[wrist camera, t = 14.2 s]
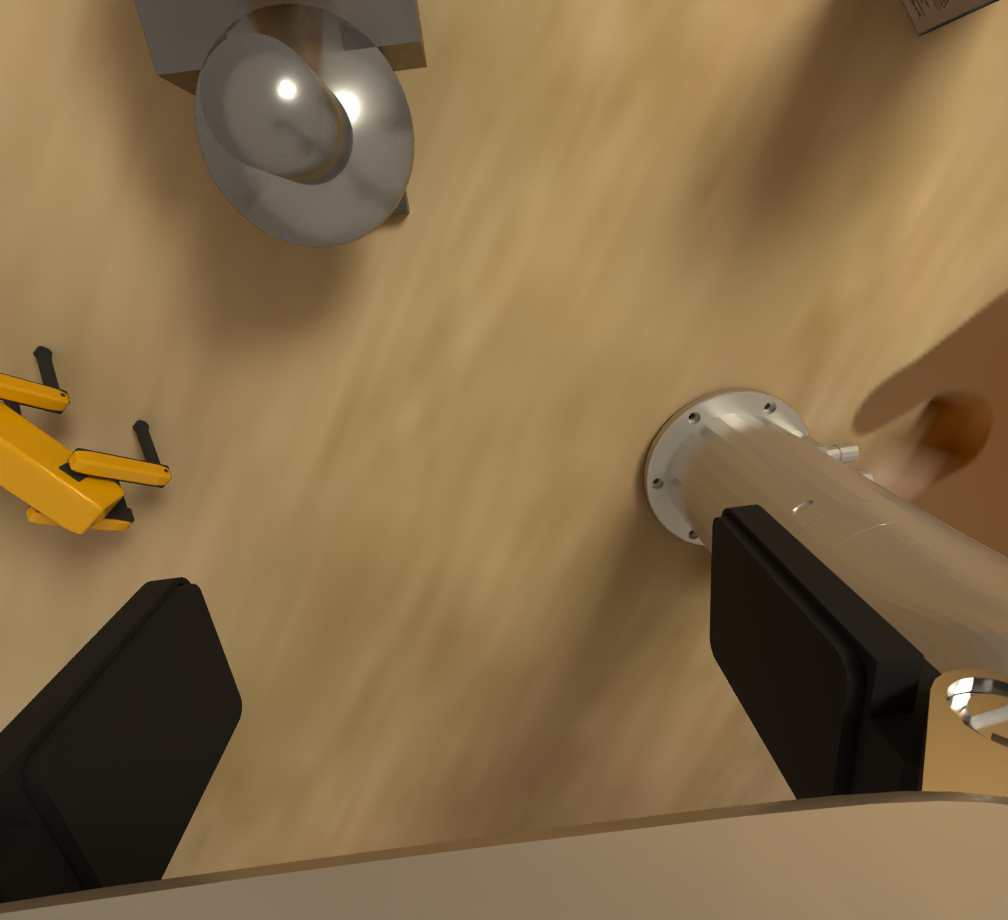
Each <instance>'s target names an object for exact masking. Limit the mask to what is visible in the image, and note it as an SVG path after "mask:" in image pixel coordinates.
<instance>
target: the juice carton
mask: <svg viewBox="0 0 1008 920" xmlns="http://www.w3.org/2000/svg"><path fill="white" fill-rule="evenodd" d="M996 1H999V0H902V2H903V4H904V6H905V8H906V10H907V12H908V14H909V16H910V18H911V20H912V22H913V24H914V26H915V28H916V30H917V32H918V34H919V36H921V35H924V34H926V33H929V32H931V31H933V30H935V29H937V28H940V27H942V26H944V25H946V24H948V23H950V22H953V21H955V20H957V19H959V18H961V17H964V16H966V15H968V14H970V13H972V12H975V11H977V10H979V9H981V8H983V7H985V6H988V5H990V4H992V3H994V2H996Z"/></svg>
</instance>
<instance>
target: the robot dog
mask: <svg viewBox="0 0 1008 920" xmlns="http://www.w3.org/2000/svg"><path fill="white" fill-rule="evenodd" d="M33 354H34V356H35V357H36V358H37V361H38V365H39V369H40V373H41V376H42V380H43V384H44V385H43V384H39V383H35V382H32V381H28V380H25V379H21V378H17V377H14V376H10V375H6V374H3V373H0V400H3V401H4V403H5V404H4V403H2V402H1V401H0V486H1V487H3V488H4V489H6V490H8V491H9V492H11V493H12V494H14V495H15V496H17V497H18V498H20V499H21V500H23V501H24V502H26V503H27V504H29V505H30V506H29V507H28V510H27V511H26V514H27V519H28V521H30V522H32V523H36V524H41V525H50V526H62V527H64V528H66V529H67V530H69V531H71V532H74V533H77V534H83V533H85V532H86V531H87V530H89V529H96V530H107V531H122V530H126V529H127V528H128V527H129V526H130V524H131V523H132V522H133V521H134V517H133V514H132V511H131V509H130V508H127V506H126V502H125V499H124V495H125V492H124V491H123V489H122V488H121V486H120V483H119V481H123V482H129V483H135V484H141V485H148V486H154V487H160V488H163V487H164V486H165V485H166V484H167V483H168V482H169V480H170V479H171V478H172V476H171V473H170V470H169V467H168V466H166V465H162V464H160V461H159V458H158V456H157V453H156V450H155V447H154V444H153V442H152V439H151V436H150V433H149V431H148V428H149V425H148V424H147V423H146V422H144V421H141V420H138V421H137V422H136V423H135V424H134V425H133V430H134V431H136V433H137V436H138V439H139V442H140V445H141V448H142V451H143V453H144V456H145V459H146V461H141V460H136V459H131V458H126V457H121V456H116V455H111V454H106V453H101V452H96V451H91V450H86V449H81V448H77V449H76V450H75V451H74V452H72V451H70V450H69V449H68V448H66V447H65V446H63V445H62V444H60V443H59V442H58V441H56V440H55V439H53V438H52V437H51V436H49V435H48V434H46V433H45V432H43V431H42V430H41V429H39V428H38V427H36V426H35V425H33V424H32V423H31V422H29V421H28V420H26V419H25V418H24V417H22V416H21V412H20V407H19V404H20V405H25V406H29V407H33V408H37V409H41V410H45V411H50V412H54V413H58V414H61V413H62V412H63V411H64V410H65V408H66V407H67V406H68V404H69V403H70V401H69V397H68V394H67V391H64V390H61V389H59V386H58V382H57V378H56V375H55V371H54V367H53V364H52V360H51V355H52V352H51V351H50V350H49V349H47V348H45V347H42V346H39V347H37V349H36V350H35V351H34V353H33Z"/></svg>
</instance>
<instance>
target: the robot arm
mask: <svg viewBox="0 0 1008 920" xmlns="http://www.w3.org/2000/svg"><path fill="white" fill-rule="evenodd" d="M766 404H767V406H766V407H765V405H766ZM691 413H693V416H692V417H690V418H689V416H690V414H691ZM858 457H859V450H858V447H857V445H856V444H854V443H844V444H837V445H833V446H829V447H826V446H825V445H823V444H821V443H819V442H818V441H816V440H814V439H812V438H811V437H810V435H809V431H808V429H807V427H806V426H805V424H804V422H803V420H802V419H801V417H800V416H799V415H798V414H797V413H796V412H795V411H794V410H793V409H792V408H791V407H790V406H788V405H787V404H785V403H784V402H782V401H781V400H779V399H777V398H775V397H773V396H771V395H769V394H767V393H763V392H759V391H756V390H752V389H729V390H721V391H717V392H714V393H711V394H708V395H705V396H702V397H700V398H698V399H696V400H695V401H693V402H691V403H689V404H687V405H686V406H685V407H683V408H682V409H681V410H679V411H678V412H677V413H675V414H674V415H673V416H672V417H671V418H670V419H669V421H668V422H667V423H666V424H665V425H664V426H663V427H662V429H661V430H660V432H659V433H658V435H657V436H656V438H655V439H654V441H653V443H652V445H651V448H650V450H649V452H648V455H647V459H646V464H645V468H644V487H645V492H646V497H647V500H648V502H649V504H650V507H651V509H652V511H653V512H654V514H655V515H656V517H657V518H658V520H659V521H660V522H661V523H662V524H663V525H664V527H665V528H666V529H667V530H668V531H670V532H671V533H673V534H674V535H675V536H677V537H678V538H680V539H682V540H685V541H687V542H689V543H692V544H697V545H702V546H705V547H706V548H707V549H708V550H709V552H710V553H711V554H712V562H711V604H710V644H711V649H712V652H713V655H714V657H715V660H716V661H717V663H718V665H719V666H720V668H721V670H722V672H723V673H724V675H725V677H726V679H727V680H728V682H729V684H730V685H731V687H732V689H733V691H734V692H735V694H736V696H737V697H738V699H739V701H740V703H741V704H742V706H743V708H744V709H745V711H746V713H747V715H748V716H749V718H750V720H751V721H752V723H753V725H754V727H755V728H756V730H757V732H758V734H759V735H760V737H761V739H762V740H763V742H764V744H765V746H766V747H767V749H768V751H769V752H770V754H771V756H772V758H773V759H774V761H775V763H776V764H777V766H778V768H779V770H780V771H781V773H782V775H783V776H784V778H785V780H786V782H787V783H788V785H789V787H790V788H791V790H792V792H793V794H794V795H795V797H796V799H797V800H788V801H778V802H769V803H759V804H750V805H740V806H731V807H722V808H712V809H704V810H696V811H688V812H680V813H672V814H664V815H656V816H648V817H640V818H631V819H623V820H615V821H607V822H599V823H591V824H583V825H575V826H567V827H559V828H551V829H543V830H534V831H526V832H519V833H511V834H503V835H495V836H487V837H480V838H472V839H464V840H456V841H449V842H441V843H433V844H425V845H418V846H410V847H402V848H395V849H387V850H379V851H372V852H364V853H356V854H349V855H341V856H333V857H326V858H318V859H311V860H303V861H295V862H288V863H280V864H273V865H266V866H258V867H251V868H244V869H236V870H229V871H222V872H214V873H207V874H200V875H192V876H185V877H178V878H170V879H163V880H161V878H162V876H163V874H164V872H165V870H166V868H167V866H168V864H169V862H170V860H171V858H172V856H173V854H174V852H175V850H176V848H177V846H178V844H179V842H180V840H181V838H182V836H183V834H184V832H185V830H186V828H187V826H188V824H189V822H190V820H191V818H192V815H193V813H194V811H195V809H196V807H197V805H198V803H199V801H200V799H201V797H202V795H203V793H204V791H205V789H206V787H207V785H208V783H209V781H210V779H211V777H212V775H213V773H214V771H215V769H216V767H217V765H218V763H219V761H220V759H221V757H222V755H223V753H224V750H225V748H226V746H227V744H228V742H229V740H230V738H231V736H232V734H233V732H234V730H235V728H236V726H237V724H238V722H239V720H240V717H241V712H242V701H241V697H240V694H239V691H238V689H237V686H236V683H235V681H234V678H233V675H232V672H231V670H230V667H229V664H228V662H227V659H226V656H225V654H224V651H223V648H222V646H221V643H220V640H219V637H218V635H217V632H216V629H215V627H214V624H213V621H212V619H211V616H210V613H209V611H208V608H207V605H206V603H205V600H204V597H203V594H202V592H201V590H200V588H199V587H198V586H197V585H196V584H191V583H190V582H189V581H188V580H187V579H186V578H183V577H180V578H172V579H164V580H156V581H150V582H147V583H146V584H144V585H143V586H142V587H141V588H140V589H139V590H138V591H137V592H136V593H135V594H134V595H133V596H132V597H131V598H130V600H129V601H128V602H127V603H126V604H125V605H124V606H123V607H122V608H121V609H120V610H119V611H118V612H117V613H116V614H115V615H114V616H113V617H112V618H111V619H110V620H109V621H108V622H107V623H106V624H105V625H104V626H103V627H102V628H101V629H100V630H99V632H98V633H97V634H96V635H95V636H94V637H93V638H92V639H91V640H90V641H89V642H88V643H87V644H86V645H85V646H84V647H83V648H82V649H81V650H80V651H79V652H78V653H77V654H76V655H75V656H74V657H73V658H72V659H71V660H70V661H69V662H68V664H67V665H66V666H65V667H64V668H63V669H62V670H61V671H60V672H59V673H58V674H57V675H56V676H55V677H54V678H53V679H52V680H51V681H50V682H49V683H48V684H47V685H46V686H45V687H44V688H43V689H42V690H41V691H40V692H39V693H38V694H37V695H36V697H35V698H34V699H33V700H32V701H31V702H30V703H29V704H28V705H27V706H26V707H25V708H24V709H23V710H22V711H21V712H20V713H19V714H18V715H17V716H16V717H15V718H14V719H13V720H12V721H11V722H10V723H9V724H8V725H7V726H6V727H5V729H4V730H3V731H2V732H1V733H0V920H1008V558H1006V557H1004V556H1003V555H1000V554H999V553H997V552H995V551H993V550H992V549H990V548H988V547H986V546H984V545H982V544H981V543H979V542H977V541H975V540H973V539H971V538H969V537H968V536H966V535H964V534H962V533H960V532H958V531H957V530H955V529H953V528H951V527H950V526H948V525H946V524H945V523H943V522H941V521H939V520H938V519H936V518H934V517H933V516H931V515H929V514H928V513H926V512H924V511H922V510H921V509H919V508H917V507H916V506H914V505H912V504H911V503H909V502H907V501H906V500H904V499H902V498H900V497H899V496H897V495H895V494H894V493H892V492H890V491H889V490H887V489H885V488H884V487H882V486H880V485H879V484H877V483H875V482H874V479H873V477H872V475H871V473H870V472H869V471H868V470H866V469H857V470H853V469H852V468H850V467H848V466H847V465H845V464H843V463H847V462H854V461H856V460H858ZM655 479H657V480H656V481H654V480H655ZM653 481H654V482H653Z"/></svg>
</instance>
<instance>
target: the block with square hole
mask: <svg viewBox="0 0 1008 920" xmlns="http://www.w3.org/2000/svg"><path fill="white" fill-rule="evenodd" d="M135 3H136V7H137V10H138V13H139V17H140V20H141V23H142V27H143V30H144V34H145V37H146V40H147V44H148V47H149V50H150V54H151V57H152V60H153V64H154V67H155V71H156V74H157V75H158V76H160V77H161V78H163V79H165V80H167V81H169V82H171V83H173V84H175V85H176V86H178V87H180V88H182V89H184V90H186V91H188V92H190V93H191V94H193V95H195V120H196V130H197V135H198V139H199V144H200V148H201V151H202V154H203V157H204V160H205V162H206V165H207V167H208V169H209V171H210V173H211V175H212V177H213V179H214V181H215V182H216V184H217V185H218V187H219V189H220V190H221V192H222V193H223V194H224V196H225V197H226V198H227V199H228V201H229V202H230V203H231V204H232V205H233V206H234V208H235V209H236V210H237V211H238V212H239V213H240V214H241V215H242V216H244V217H245V218H246V219H247V220H248V221H250V222H251V223H252V224H253V225H255V226H257V227H258V228H260V229H261V230H263V231H264V232H266V233H268V234H270V235H272V236H274V237H276V238H278V239H281V240H284V241H287V242H289V243H293V244H298V245H303V246H312V247H327V246H338V245H342V244H347V243H350V242H353V241H356V240H358V239H360V238H362V237H364V236H366V235H368V234H370V233H371V232H373V231H374V230H375V229H377V228H378V227H379V226H381V225H382V224H383V223H384V222H385V221H386V220H387V219H388V218H389V216H390V215H395V214H403V213H410V211H409V205H408V199H407V194H406V188H407V185H408V183H409V179H410V175H411V171H412V167H413V159H414V131H413V123H412V118H411V113H410V109H409V106H408V103H407V100H406V97H405V94H404V92H403V89H402V87H401V85H400V83H399V81H398V79H397V76H396V74H395V72H394V71H400V70H408V69H415V68H423V67H427V64H426V57H425V50H424V43H423V37H422V30H421V23H420V16H419V9H418V2H417V0H135Z"/></svg>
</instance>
